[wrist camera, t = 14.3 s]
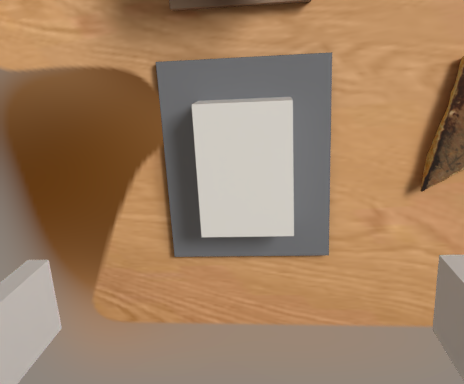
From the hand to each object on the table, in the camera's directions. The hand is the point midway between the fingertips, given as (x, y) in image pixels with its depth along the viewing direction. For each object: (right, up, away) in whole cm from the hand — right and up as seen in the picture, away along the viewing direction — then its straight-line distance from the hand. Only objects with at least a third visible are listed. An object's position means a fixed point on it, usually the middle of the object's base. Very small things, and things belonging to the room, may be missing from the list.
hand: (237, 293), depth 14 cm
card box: (+1, +6, +19) cm, 20 cm away
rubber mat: (+1, +6, +20) cm, 21 cm away
